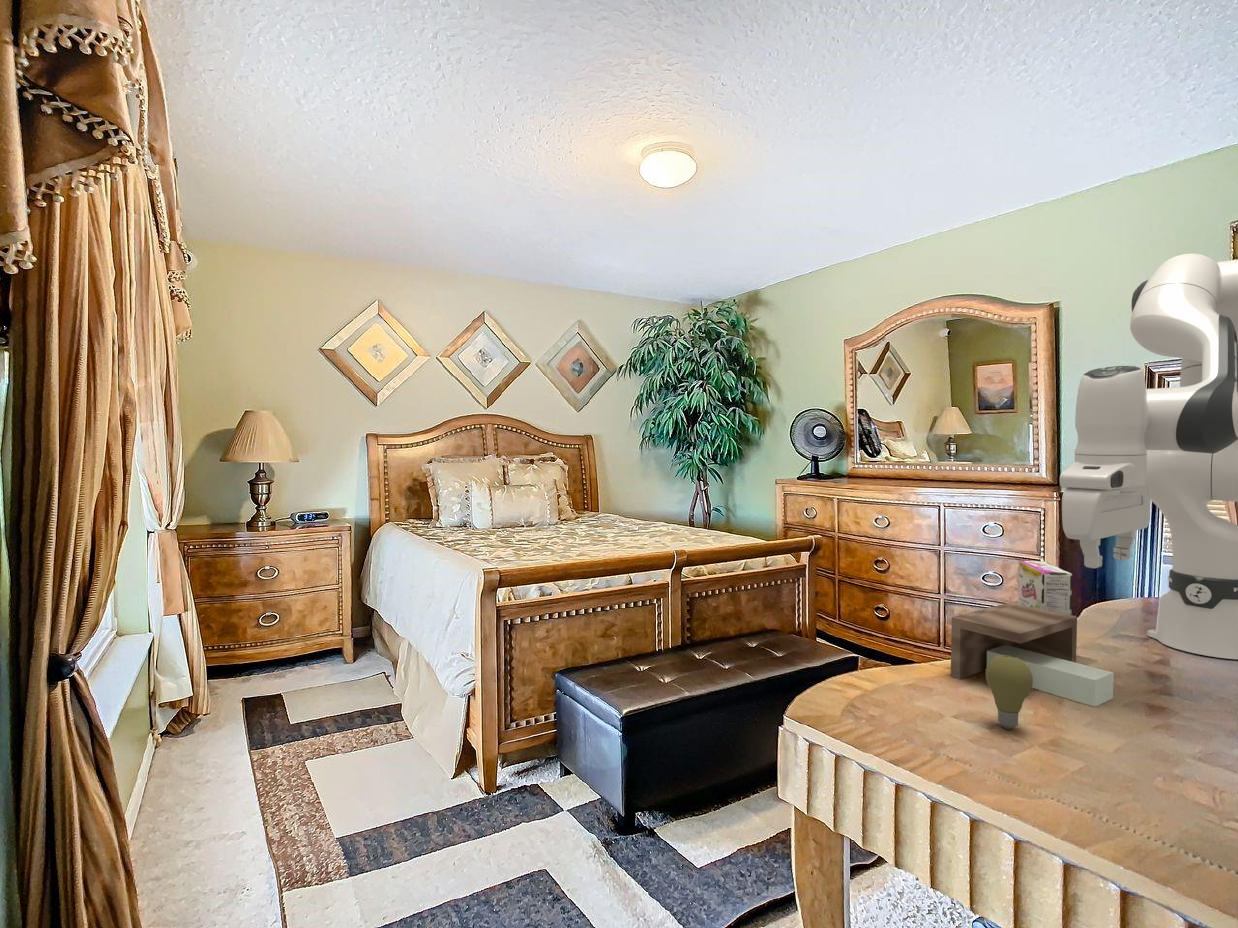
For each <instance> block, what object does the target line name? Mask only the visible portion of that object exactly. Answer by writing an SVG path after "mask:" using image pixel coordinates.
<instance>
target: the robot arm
mask: <svg viewBox="0 0 1238 928" xmlns="http://www.w3.org/2000/svg"><path fill="white" fill-rule="evenodd" d="M1129 325H1130V332H1131V335H1132V337H1133V338H1134V340H1135V341H1136V342H1137V344H1139V345H1140V346H1141V347H1142V348H1144V349H1146V350H1147V351H1149V352H1151V353H1153V354H1156V355H1158V356H1162V357H1168V358H1180V359H1181V363H1180V374H1179V375H1180V379H1179V386H1176V387H1175V386H1174V387H1160V388H1159V387H1158V388H1157V387H1156V388H1147V384H1146V378H1145V373H1144V370H1143V369H1142V368H1141V367H1137V366H1135V365H1114V366H1106V367H1099V368H1095V369H1091V370H1088V371H1087V372H1085V373H1084V374H1082V376H1081V377H1080V380H1079V385H1078V389H1077V396H1076V404H1075V414H1074V415H1075V417H1074V419H1075V420H1074V422H1075V423H1074V425H1075V426H1074V427H1075V430H1076V433H1077V444H1076V446H1075V449H1074V461H1073V462H1072V463H1071V465H1069V467H1068V468H1066V469H1064V470H1063V471H1062V472H1061V473H1060V475H1059V487H1061V488H1065V489H1064V490H1063V493H1062V497H1061V521H1062V530H1063V532H1064V534H1065V537H1066V538H1068V539H1069V540H1070V539H1071V540H1075V541H1076V540H1078V541H1079V546H1080V549H1081V551H1082V554H1083V562H1084V563H1083V565H1084V567H1086V568H1089V569H1098V568H1101V567H1102V566H1103V555H1100V554H1101V553H1100V549H1099V546H1101V539H1106V538H1109V537H1113V536H1116V541H1115V547H1113V551H1112V552H1113V555H1112V557H1113V558H1114V559H1115V560H1117V561H1119V560H1120V561H1126V560H1129V559H1131V556H1132V555H1131V554H1132V553H1131V552H1132V551H1131V550H1132V547H1133V544H1134V541H1135V539H1136V531H1141V530H1143V529H1147V528H1148V526H1149V524H1150V522H1151V521H1150V520H1151V509H1150V508H1151V507H1150V506H1151V505H1150V504H1151V502H1152V503H1153V504H1154V505H1155V506H1156V507H1157V508H1158V509H1159V510H1160V512H1161V513H1162V514H1163V516H1164V518H1165V520H1166V522H1167V523H1168V528H1169V530H1170V537H1171V546H1172V549H1171V550H1172V565H1171V566H1172V568H1171V569H1170V570H1169V571H1168V572H1169V575H1168V577H1167V580H1168V588H1169V591H1168V592H1166V593H1164V594H1163V595H1161V596H1160V597H1159V599H1158V608H1157V616H1156V625H1155V626H1156V628H1154V629H1153V628H1152V629H1148V630H1147V632H1146V636H1147V637H1150V638H1153V639H1154V640H1158V641H1159V642H1160V643H1161V644H1163V645H1164V646H1168V647H1171V648H1173V649H1176V650H1179V651H1183V652H1187V653H1192V654H1195V655H1196V654H1197V655H1200V656H1201V655H1202V656H1207V657H1213V658H1219V659H1227V660H1228V659H1229V660H1238V525H1237V524H1236V523H1234V522H1231V521H1229V520H1227V519H1225V518H1222V517H1219V516H1217V515H1215V514H1214V513H1213V512H1211V510H1210V509H1209V507H1208V502H1214V501H1216V502H1217V501H1220V502H1238V259H1230V260H1222V261H1216V260H1214V259H1213V258H1211V257H1210V256H1206V255H1205V254H1201V253H1183V254H1179V255H1175V256H1172V257H1170V258H1169V259H1167V260H1165V261H1164V262H1163V263H1161V264H1160V265H1159V266H1158V267H1157V268H1156V269H1155V271H1154V272H1153V273H1152V274H1151V276H1150V277H1149V278H1148V279H1146V280H1145V281H1143V282H1140V284H1139V285H1138V286H1137V287H1136V289H1134V291H1133V293H1132V297H1131V317H1130V323H1129ZM1150 501H1151V502H1150Z"/></svg>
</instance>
